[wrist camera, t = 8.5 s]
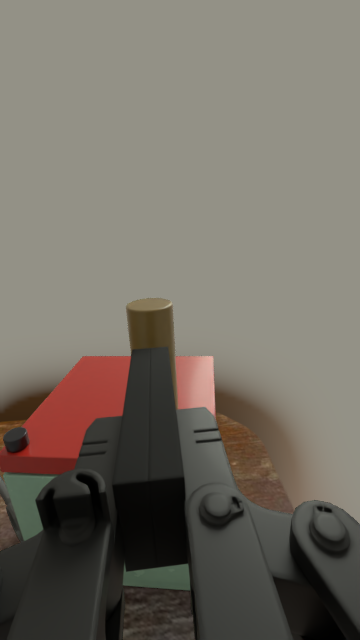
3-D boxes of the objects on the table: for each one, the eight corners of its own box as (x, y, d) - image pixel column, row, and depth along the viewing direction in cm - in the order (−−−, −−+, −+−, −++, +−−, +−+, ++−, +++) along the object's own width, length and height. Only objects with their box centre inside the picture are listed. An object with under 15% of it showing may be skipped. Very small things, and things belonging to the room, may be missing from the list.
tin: (214, 449, 30) (213, 370, 27) (217, 593, 18) (217, 484, 15) (98, 445, 31) (85, 369, 28) (35, 579, 20) (2, 475, 17)
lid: (213, 368, 27) (212, 265, 24) (217, 481, 15) (216, 313, 12) (84, 367, 28) (67, 269, 25) (1, 472, 17) (-49, 317, 13)
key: (44, 549, 21) (35, 516, 20) (30, 561, 21) (19, 528, 20) (-9, 464, 29) (-18, 437, 28) (-20, 470, 28) (-30, 443, 27)
